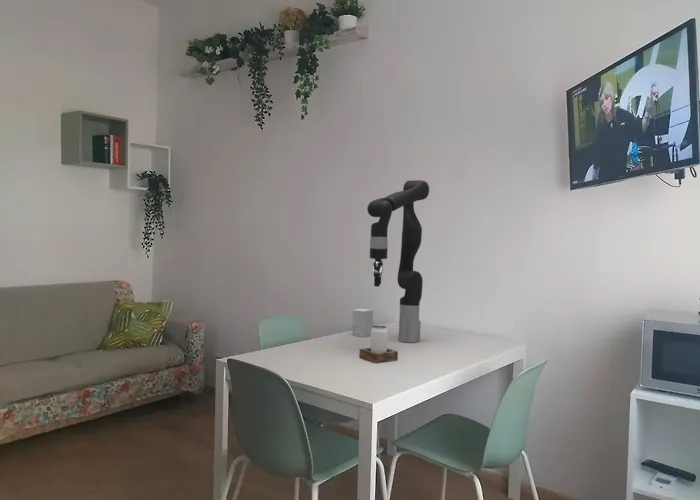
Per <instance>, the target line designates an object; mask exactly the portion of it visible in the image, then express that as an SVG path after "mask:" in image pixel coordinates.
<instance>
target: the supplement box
mask: <svg viewBox="0 0 700 500" xmlns="http://www.w3.org/2000/svg"><path fill="white" fill-rule="evenodd" d="M373 315H374V310H373V309H367V308H357V309H352V325H351V327H352V328H351V329H352V331H351V335H352V336H355V337H361V338H365V337H371V330H372V328H373V327H372V326H374V325H373V324H374V323H373V322H374V321H373V319H374V317H373Z"/></svg>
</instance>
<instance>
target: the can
mask: <svg viewBox="0 0 700 500" xmlns="http://www.w3.org/2000/svg"><path fill="white" fill-rule="evenodd" d="M372 327H373V328H372V330H371V336H370V348H371V352H374V353H383V352H387V348H388V329H387V326H385V325H373V326H372Z"/></svg>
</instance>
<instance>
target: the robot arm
mask: <svg viewBox="0 0 700 500" xmlns="http://www.w3.org/2000/svg"><path fill="white" fill-rule="evenodd" d="M429 193H430V187H429V183H428V182H427V181H426V180H420V179H419V180H417V179H415V180H414V179H413V180H407V181H405V182H404V184H403V187H402V190H400V191H396V192H393V193H391V194H389V195H387V196H385V197H381V198H380V197H379V198H377V199H374V200H372V201H370V202H369V203H368V205H367V213H368V215H369V216H370V217H373V218H378V221H376V222H374V223H372V224H371V225H370V240H369V258H370V259H374V262H373V264H372V265H373V266H372V267H373V272H372V273H373V277H374V284H373V285H374V287H376V288H377V287H380V285H381V284H382V275H383V272H384V270H383V269H384V263H383V260H386V259H388V247H389V245H388V244H389V243H388V241H389V240H388V227H389V224H390V220H391V218H392V213H393V212H394V211H396V210H398V209H400V208H402V207H403V210H402V211H403V217H402V230H401V231H402V232H401V246H400V248H401V249H400V259H399V266H398V272H397V278H396V279H397V284H398V286H399V288H400V289H403V290H404V295H403V296H401V297H400V298H399V315H398V316H399V320H398V341H399V342H401V343H418V342H420V341H421V324H422V323H421V322H422V321H421V320H420V304H421V303H420V302H421V300H422V295H423V277H422V274H421V273H420V272H419V271H417V270H414V264H415V263H414V261H415V257H416V255H417V253H418V252H419V249H420V247H421V244H422V236H423V231H422V230H423V227H422V225H421V223H420V221H419V219H418V216H417V214H416V213H415V212H416V211H415V207H414V206H415V205H414V204H415V202H418V201H423V200H426V199H427V198H428V197H429Z"/></svg>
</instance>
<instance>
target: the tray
mask: <svg viewBox="0 0 700 500" xmlns="http://www.w3.org/2000/svg"><path fill="white" fill-rule="evenodd" d="M398 354H399V351H397V350H395V349H391V348H389V347H387V352H383V353H374V352H371V347H366V348H359V353H358V355H359V357H358V358H359V359H362V360H365V361H367V362H371V363H373V364H380V363H382V364H383V363H388V362H394V361H395V362H396V361H398V360H399V359H398V358H399V357H398V356H399V355H398Z"/></svg>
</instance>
